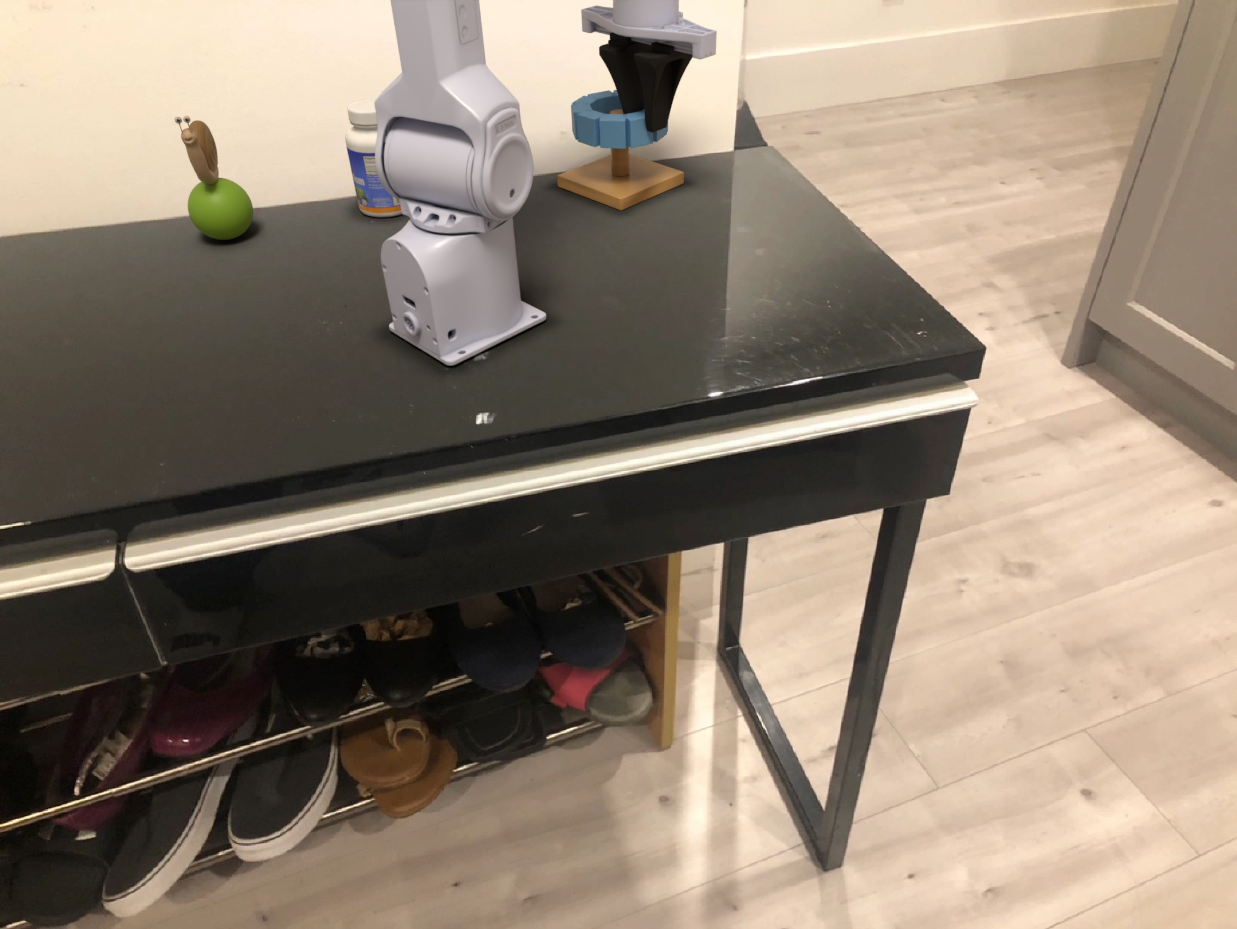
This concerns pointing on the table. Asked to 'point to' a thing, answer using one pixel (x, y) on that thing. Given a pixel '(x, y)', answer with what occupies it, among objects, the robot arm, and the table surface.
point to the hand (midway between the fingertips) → (646, 125)
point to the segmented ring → (610, 123)
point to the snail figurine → (213, 188)
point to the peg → (620, 178)
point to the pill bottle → (367, 162)
